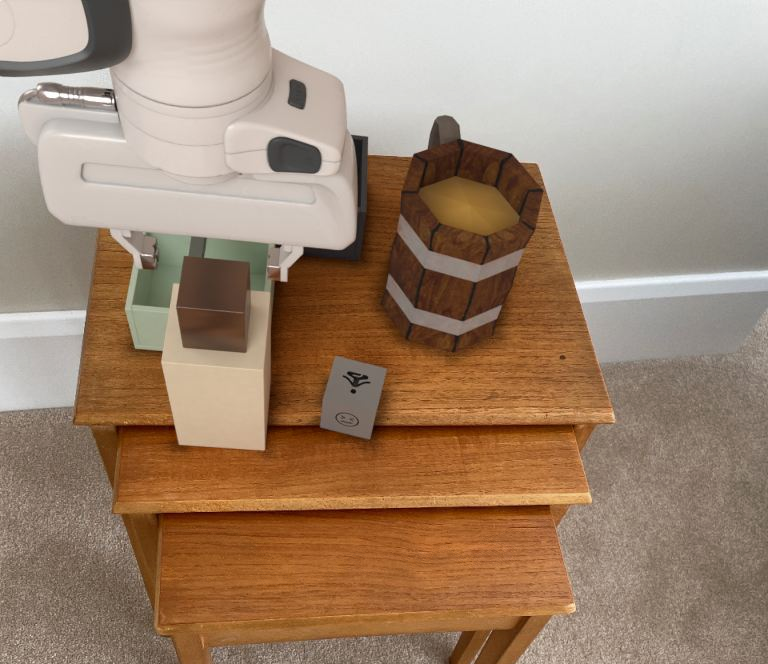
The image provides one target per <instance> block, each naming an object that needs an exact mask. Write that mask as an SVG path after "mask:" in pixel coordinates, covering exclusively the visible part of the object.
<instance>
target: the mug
mask: <svg viewBox="0 0 768 664" xmlns="http://www.w3.org/2000/svg"><path fill="white" fill-rule="evenodd" d="M432 123H433V124H432V126H431V129H430V132H429V137H428V145H427V148H426V149H424V150H421V151H418V152H414V153H413V154H412V157H411V160H410V163H409V167H408V169H407V173H406V176H405V179H404V183H403V185H402V188H401V191H400V206H399V207H400V210H399V218H398V223H397V229H396V233H395V236H394V239H393V242H392V245H391V249H390V252H389V266H388V277H387V280H386V284H385V287H384V291H383V294H382V298H381V300H380V306H381V307H382V309H383V310H384V311H385V312H386V314H387V315H388V317H389V318H390V320H391V321H392V322H393V324H394V325H395V327H396V328H397V329H398V330H399V331H398V332H400V334H401V335H402V336H403V338H404V339H405V340H406V341H410V342H414V343H418V344H421V345H424V346H428V347H431V348H434V349H439V350H441V351H447V352H450V353H455V352H456V353H457V352H458V351H460V350H461V351H462V350H463V349H465V348H468V347H470V346H473V345H474V344H477V343H479V342H481V341H483V340H485V339H489V338H490V337H492V336H494V333H495V328H496V325H497V320H498V317H499V315H500V312H501V309H502V307H503V304H504V303H505V301H506V299H507V297H508V295H509V293H510V291H511V290H512V288H513V284H514V281H515V277H516V273H517V270H518V266H519V264H520V261H521V258H522V256H523V253H524V251H525V249H526V247H527V245H528V244H529V241H530V240H531V239H532V236H533V235H534V233H535V232H536V229H537V224H538V221H539V220H538V218H539V214H540V209H541V205H542V204H541V203H542V201H543V195H544V189H543V187H542V186H541V185H540V184H539V182H537V181H536V180H535V179H534V177H533V176H532V175H531V174H530V173H529V171H528V170H527V169H526V168H525V167H524V166H523V164H522V163H521V162H520V161H519V160H518V159H517V157H516V156H515V155H514V154H513V153H512V152H509V151H505V150H501V149H498V148H494V147H490V146H487V145H483V144H480V143H476V142H474V141H473V142H472V141H469V140H466V139H462V136H461V126H460V124H459V123H458V121H457V119H455V117H453V116H451V115H447V114H443V115H438V116H437V117H436V118H435V119H434V120H433V122H432Z"/></svg>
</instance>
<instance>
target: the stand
mask: <svg viewBox="0 0 768 664" xmlns="http://www.w3.org/2000/svg"><path fill="white" fill-rule="evenodd" d="M178 290H179V284H176V283H174V284H173V290H172V296H171V303H170V309H169V315H168V322H167V328H166V334H165V341H164V347H163V351H162V355H161V359H160V360H161V367H162V372H163V376H164V381H165V386H166V391H167V395H168V400H169V405H170V410H171V414H172V419H173V423H174V428H175V434H176V439H177V443H178V445H179V446H192V447H203V448H204V447H206V448H219V449H220V448H221V449H233V450H235V449H237V450H249V451H252V450H253V451H264V452H265V451H266V445H267V433H268V419H269V408H270V407H269V406H270V398H271V397H270V395H271V386H272V385H271V383H272V336H271V335H272V321H271V293H270V292H262V291H251V310H250V320H249V330H248V340H247V350H246V353H239V352H227V351H215V350H203V349H191V348H183V345H182V340H181V334H180V328H179V322H178V316H177V310H176V303H177V297H178Z"/></svg>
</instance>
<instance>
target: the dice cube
mask: <svg viewBox="0 0 768 664" xmlns="http://www.w3.org/2000/svg"><path fill="white" fill-rule="evenodd" d="M387 371H388V368H386V367H382V366H378V365H375V364H370V363H366V362H362V361H359V360H354V359H351V358H347V357H342V356H338V355H334V359H333V363H332V366H331V370H330V373H329V377H328V380H327V383H326V387H325V390H324V393H323V397H322V404H321V413H320V423H319V428H320V429H325V430H329V431H333V432H337V433H341V434H345V435H349V436H353V437H357V438H361V439H364V440H369V441H370V440H371V437H372V434H373V429H374V425H375V422H376V417H377V414H378V410H379V405H380V403H381V402H380V401H381V397H382V393H383V390H384V384H385V380H386V376H387Z"/></svg>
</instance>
